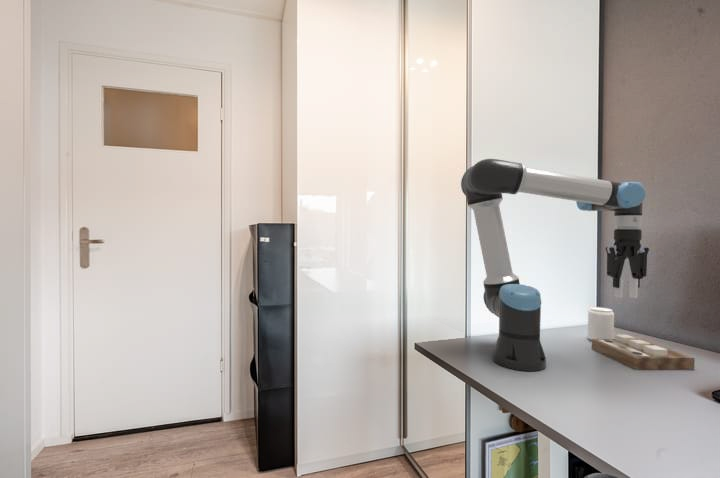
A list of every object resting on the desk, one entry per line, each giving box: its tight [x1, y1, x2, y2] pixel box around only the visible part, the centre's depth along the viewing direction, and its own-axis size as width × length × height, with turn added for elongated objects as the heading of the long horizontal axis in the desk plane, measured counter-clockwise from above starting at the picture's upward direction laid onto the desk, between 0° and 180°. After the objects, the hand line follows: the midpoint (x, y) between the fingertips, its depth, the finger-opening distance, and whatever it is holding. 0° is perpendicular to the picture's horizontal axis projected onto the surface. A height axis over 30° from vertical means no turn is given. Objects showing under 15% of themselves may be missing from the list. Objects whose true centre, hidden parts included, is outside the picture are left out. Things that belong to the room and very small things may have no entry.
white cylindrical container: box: [587, 306, 615, 341], centre depth 135 cm, size 8×8×12 cm
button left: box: [614, 333, 636, 344], centre depth 122 cm, size 4×4×3 cm
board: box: [591, 338, 695, 371], centre depth 116 cm, size 18×19×4 cm
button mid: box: [628, 340, 651, 350], centre depth 116 cm, size 4×4×3 cm
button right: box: [643, 345, 667, 357], centre depth 110 cm, size 4×4×3 cm
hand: (625, 297), depth 122 cm, fingers open, 4 cm apart
